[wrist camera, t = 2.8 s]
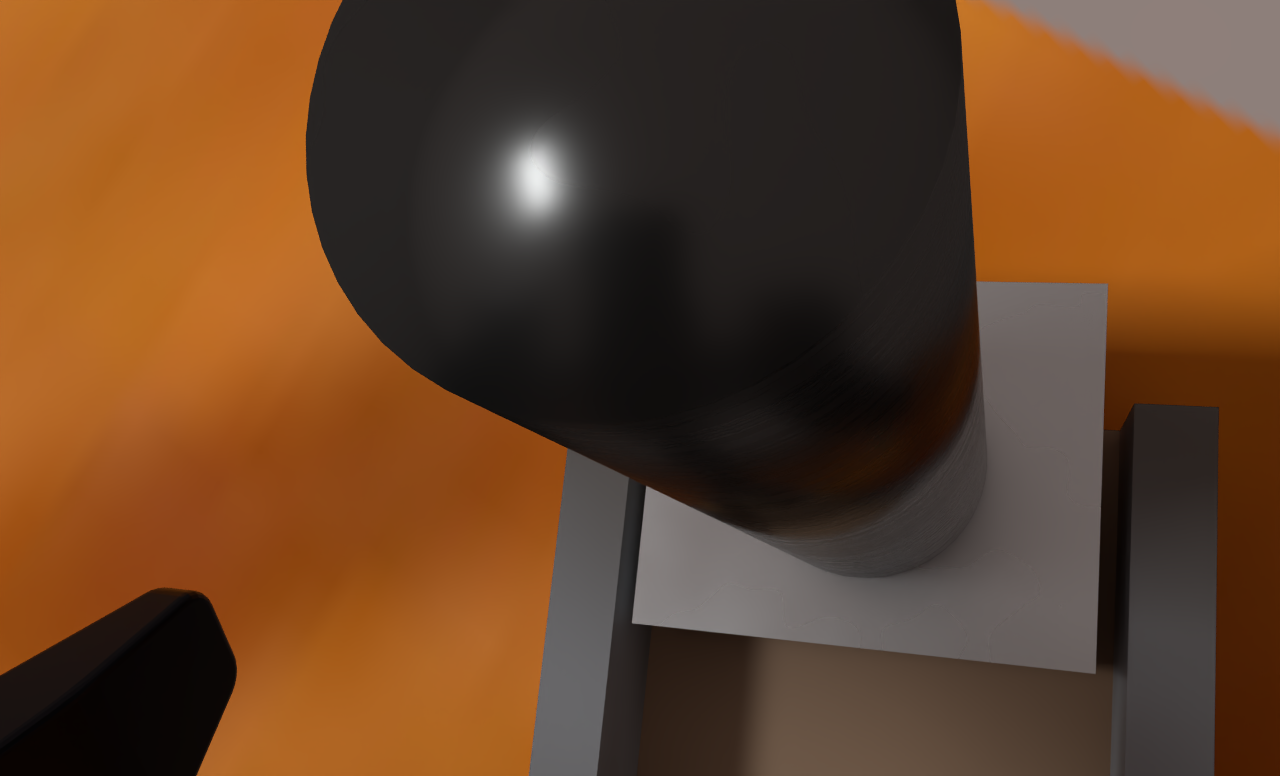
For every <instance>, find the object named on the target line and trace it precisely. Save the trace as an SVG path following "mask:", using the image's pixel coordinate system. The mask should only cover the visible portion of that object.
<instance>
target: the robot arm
mask: <svg viewBox="0 0 1280 776" xmlns="http://www.w3.org/2000/svg"><path fill="white" fill-rule="evenodd" d="M236 676H237V665H236V659H235V656H234V654H233V651H232V649H231V647H230V644H229V642H228V640H227V638H226V635H225V633H224V631H223V629H222V626H221V624H220V622H219V619H218V617H217V615H216V613H215V610H214V608H213V606H212V604H211V602H210V600H209V599H208V598H207V597H206V596H205V595H204V594H202V593H200V592H197V591H192V590H183V589H174V588H157V589H154V590H151V591H149V592H147V593H145V594H143V595H142V596H140V597H138V598H136V599H135V600H133V601H131V602H129V603H128V604H126V605H124V606H122V607H120V608H119V609H117V610H115V611H113V612H112V613H110V614H108V615H106V616H105V617H103V618H101V619H99V620H97V621H96V622H94V623H92V624H90V625H89V626H87V627H85V628H83V629H82V630H80V631H78V632H76V633H75V634H73V635H71V636H69V637H67V638H66V639H64V640H62V641H60V642H59V643H57V644H55V645H53V646H52V647H50V648H48V649H46V650H45V651H43V652H41V653H39V654H37V655H36V656H34V657H32V658H30V659H29V660H27V661H25V662H23V663H22V664H20V665H18V666H16V667H14V668H13V669H11V670H9V671H7V672H6V673H4V674H2V675H0V776H196V775H197V773H198V771H199V768H200V766H201V764H202V761H203V759H204V757H205V754H206V752H207V750H208V747H209V745H210V743H211V740H212V738H213V736H214V734H215V731H216V729H217V727H218V724H219V722H220V720H221V717H222V715H223V713H224V710H225V708H226V706H227V703H228V701H229V699H230V696H231V694H232V692H233V689H234V686H235V681H236Z"/></svg>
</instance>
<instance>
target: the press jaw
mask: <svg viewBox="0 0 1280 776" xmlns="http://www.w3.org/2000/svg"><path fill="white" fill-rule="evenodd" d="M306 171H307V181H308V187H309V194H310V201H311V208H312V213H313V217H314V220H315V224H316V227H317V231H318V234H319V238H320V241H321V245H322V248H323V250H324V253H325V255H326V257H327V259H328V262H329V264H330V266H331V268H332V271H333V273H334V275H335V277H336V280H337V282H338V283H339V285H340V287H341V288H342V290H343V291H344V293H345V295H346V296H347V298H348V299H349V301H350V303H351V304H352V306H353V307H354V309H355V310H356V312H357V314H358V315H359V316H360V317H361V318H362V320H363V321H364V322H365V323H366V324H367V325H368V327H369V328H370V329H371V330H372V331H373V332H374V334H375V335H376V336H377V337H378V338H379V339H380V341H381V342H382V343H383V344H384V345H385V346H387V347H388V348H389V349H390V350H391V351H392V352H394V353H395V354H396V355H397V356H398V357H399V358H401V359H402V360H403V361H404V362H405V363H406V364H407V365H409V366H410V367H411V368H412V369H414V370H415V371H417V372H418V373H420V374H422V375H423V376H425V377H426V378H428V379H429V380H431V381H433V382H434V383H436V384H437V385H439V386H441V387H442V388H444V389H445V390H447V391H449V392H451V393H453V394H456V395H458V396H460V397H462V398H464V399H466V400H468V401H470V402H472V403H474V404H476V405H479V406H481V407H483V408H485V409H487V410H489V411H491V412H493V413H495V414H497V415H499V416H501V417H504V418H506V419H508V420H510V421H512V422H514V423H516V424H518V425H520V426H522V427H524V428H526V429H529V430H531V431H533V432H535V433H537V434H539V435H541V436H543V437H545V438H547V439H549V440H551V441H554V442H556V443H558V444H560V445H562V446H564V447H566V448H568V449H570V450H572V451H574V452H577V453H579V454H581V455H583V456H585V457H587V458H589V459H591V460H593V461H595V462H597V463H599V464H602V465H604V466H606V467H608V468H610V469H612V470H614V471H616V472H618V473H620V474H622V475H624V476H627V477H629V478H631V479H633V480H635V481H637V482H639V483H641V484H643V485H645V486H646V494H645V503H644V513H643V522H642V532H641V541H640V551H639V560H638V570H637V580H636V589H635V599H634V608H633V618H632V623H635V624H644V625H653V626H663V627H672V628H681V629H690V630H699V631H708V632H717V633H726V634H736V635H745V636H754V637H763V638H772V639H781V640H790V641H800V642H809V643H818V644H827V645H836V646H845V647H854V648H863V649H873V650H882V651H891V652H900V653H909V654H918V655H927V656H937V657H946V658H955V659H964V660H973V661H982V662H991V663H1000V664H1010V665H1019V666H1028V667H1037V668H1046V669H1055V670H1064V671H1073V672H1083V673H1092V674H1096V648H1097V616H1098V584H1099V552H1100V520H1101V488H1102V456H1103V424H1104V392H1105V360H1106V328H1107V297H1108V284H1086V283H1026V282H976V268H975V252H974V236H973V220H972V204H971V188H970V172H969V157H968V141H967V125H966V109H965V93H964V77H963V61H962V45H961V30H960V24H959V18H958V12H957V6H956V0H342V3H341V5H340V7H339V9H338V11H337V13H336V15H335V17H334V19H333V21H332V24H331V26H330V29H329V32H328V35H327V38H326V41H325V43H324V46H323V49H322V52H321V55H320V58H319V61H318V65H317V70H316V74H315V78H314V83H313V87H312V91H311V96H310V103H309V112H308V122H307V131H306Z"/></svg>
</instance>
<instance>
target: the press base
mask: <svg viewBox="0 0 1280 776" xmlns="http://www.w3.org/2000/svg"><path fill="white" fill-rule="evenodd" d="M1218 426H1219V407H1202V406H1180V405H1157V404H1134V406H1133V407H1132V409H1131V411H1130V413H1129V415H1128V417H1127V419H1126V421H1125V422H1124V424H1123V426H1122V428H1121V430H1120V431H1116V430H1103V456H1102V488H1101V520H1100V552H1099V584H1098V616H1097V648H1096V674H1092V673H1083V672H1073V671H1064V670H1055V669H1046V668H1037V667H1028V666H1019V665H1010V664H1000V663H991V662H982V661H973V660H964V659H955V658H946V657H937V656H927V655H918V654H909V653H900V652H891V651H882V650H873V649H863V648H854V647H845V646H836V645H827V644H818V643H809V642H800V641H790V640H781V639H772V638H763V637H754V636H745V635H736V634H726V633H717V632H708V631H699V630H690V629H681V628H672V627H663V626H653V625H644V624H635V623H632V618H633V608H634V599H635V589H636V580H637V570H638V560H639V551H640V541H641V532H642V522H643V513H644V503H645V494H646V486H645V485H643V484H641V483H639V482H637V481H635V480H633V479H631V478H629V477H627V476H624V475H622V474H620V473H618V472H616V471H614V470H612V469H610V468H608V467H606V466H604V465H602V464H599V463H597V462H595V461H593V460H591V459H589V458H587V457H585V456H583V455H581V454H579V453H577V452H574V451H572V450H570V449H568V450H567V459H566V467H565V476H564V484H563V493H562V501H561V510H560V518H559V526H558V535H557V543H556V552H555V560H554V569H553V577H552V586H551V594H550V603H549V611H548V619H547V628H546V636H545V645H544V653H543V662H542V670H541V679H540V687H539V696H538V704H537V712H536V721H535V729H534V738H533V746H532V755H531V763H530V772H529V776H1214V744H1215V664H1216V585H1217V505H1218Z"/></svg>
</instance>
